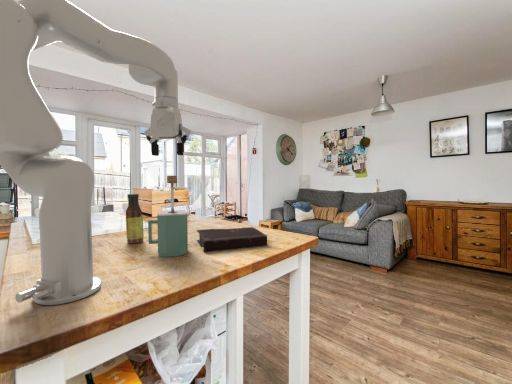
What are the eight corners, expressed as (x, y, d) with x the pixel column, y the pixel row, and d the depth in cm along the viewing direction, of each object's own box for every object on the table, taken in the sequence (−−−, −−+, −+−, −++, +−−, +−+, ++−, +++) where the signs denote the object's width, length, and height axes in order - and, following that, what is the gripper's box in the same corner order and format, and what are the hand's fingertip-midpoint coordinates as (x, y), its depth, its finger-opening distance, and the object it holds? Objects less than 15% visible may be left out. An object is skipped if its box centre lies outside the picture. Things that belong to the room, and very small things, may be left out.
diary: (267, 247, 98) (267, 235, 98) (203, 254, 89) (203, 240, 89) (251, 236, 116) (251, 225, 115) (196, 241, 106) (196, 229, 106)
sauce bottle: (146, 241, 103) (145, 193, 102) (132, 245, 98) (131, 194, 96) (137, 239, 107) (136, 193, 105) (123, 242, 101) (121, 194, 100)
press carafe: (188, 255, 85) (188, 213, 84) (147, 259, 81) (146, 215, 80) (187, 247, 95) (186, 209, 94) (150, 250, 91) (149, 211, 90)
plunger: (183, 220, 86) (183, 175, 85) (161, 221, 83) (160, 175, 82) (182, 216, 92) (182, 175, 91) (162, 217, 90) (161, 175, 89)
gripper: (137, 103, 84) (138, 154, 85) (183, 100, 80) (184, 154, 81) (151, 109, 91) (152, 156, 92) (194, 106, 87) (195, 155, 88)
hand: (167, 155), depth 87 cm, fingers open, 9 cm apart
